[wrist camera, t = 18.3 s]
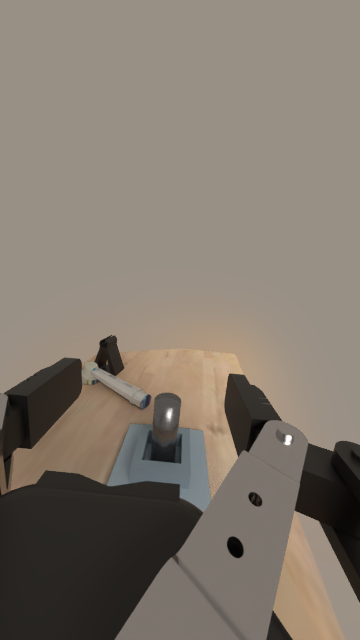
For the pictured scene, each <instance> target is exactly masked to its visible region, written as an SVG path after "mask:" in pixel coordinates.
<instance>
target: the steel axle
mask: <svg viewBox="0 0 360 640" xmlns="http://www.w3.org/2000/svg"><path fill="white" fill-rule="evenodd" d="M180 407H181V399H180V398H179V397H178V396H177V395H175V394H172V393H162V394H159V395H157V396H156V398H155V402H154V416H153V430H152V443H151V457H150V461H159V462H169V463H175V455H176V445H177V436H178V426H179V416H180Z"/></svg>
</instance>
